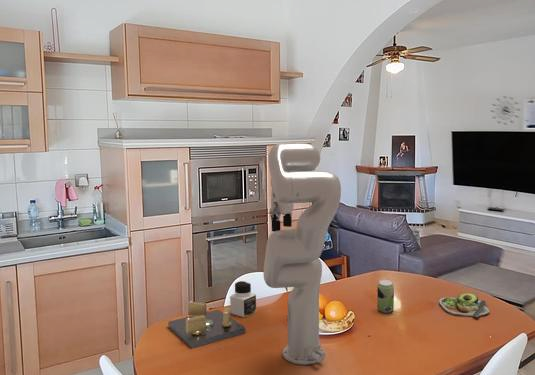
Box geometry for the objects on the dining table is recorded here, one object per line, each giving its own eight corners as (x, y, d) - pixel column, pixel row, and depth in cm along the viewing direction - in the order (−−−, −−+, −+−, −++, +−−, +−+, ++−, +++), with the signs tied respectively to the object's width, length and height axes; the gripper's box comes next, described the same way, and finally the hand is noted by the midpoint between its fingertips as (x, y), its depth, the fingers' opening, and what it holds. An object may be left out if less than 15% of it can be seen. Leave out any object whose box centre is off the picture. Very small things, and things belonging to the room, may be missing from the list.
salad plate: (499, 322, 164) (500, 309, 164) (447, 319, 167) (448, 307, 166) (482, 302, 184) (482, 291, 183) (435, 300, 186) (436, 289, 185)
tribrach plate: (245, 333, 157) (245, 322, 157) (191, 348, 147) (191, 337, 146) (218, 314, 174) (218, 305, 174) (168, 327, 163) (167, 317, 163)
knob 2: (232, 320, 162) (231, 305, 161) (230, 328, 156) (230, 312, 155) (222, 321, 162) (222, 305, 161) (221, 328, 156) (220, 312, 155)
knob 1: (207, 332, 153) (206, 315, 152) (189, 337, 150) (188, 320, 149) (202, 329, 156) (202, 312, 155) (185, 333, 152) (184, 316, 152)
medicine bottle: (244, 318, 170) (243, 286, 169) (230, 313, 175) (229, 283, 173) (256, 312, 176) (256, 281, 175) (242, 308, 180) (241, 278, 179)
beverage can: (392, 307, 178) (392, 277, 177) (395, 315, 171) (396, 283, 170) (375, 307, 179) (376, 277, 177) (378, 314, 172) (378, 283, 170)
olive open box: (203, 320, 163) (202, 304, 163) (187, 317, 166) (187, 302, 165) (207, 316, 166) (207, 301, 166) (191, 314, 169) (191, 299, 168)
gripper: (280, 185, 156) (281, 234, 158) (300, 180, 171) (300, 225, 173) (261, 184, 159) (261, 232, 161) (282, 179, 174) (282, 224, 176)
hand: (281, 228), depth 167 cm, fingers open, 9 cm apart
